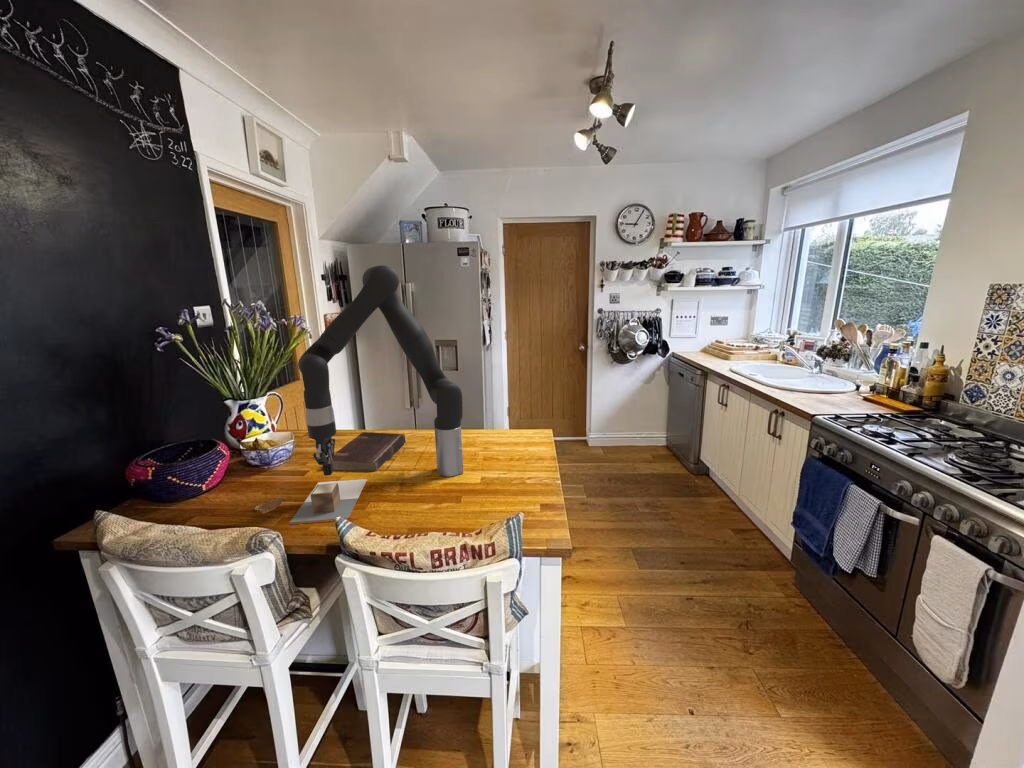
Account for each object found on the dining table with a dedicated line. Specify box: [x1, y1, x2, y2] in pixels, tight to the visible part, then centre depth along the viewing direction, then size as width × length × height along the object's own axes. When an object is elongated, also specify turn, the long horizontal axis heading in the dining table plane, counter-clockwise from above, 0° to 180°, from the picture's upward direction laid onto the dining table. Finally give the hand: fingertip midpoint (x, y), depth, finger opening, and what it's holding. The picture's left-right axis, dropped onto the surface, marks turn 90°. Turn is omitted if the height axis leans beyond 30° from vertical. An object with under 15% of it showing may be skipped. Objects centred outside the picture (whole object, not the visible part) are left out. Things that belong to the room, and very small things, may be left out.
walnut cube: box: [310, 483, 340, 513], centre depth 121 cm, size 6×6×6 cm
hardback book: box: [332, 431, 406, 472], centre depth 160 cm, size 29×19×5 cm, turn 174°
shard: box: [254, 497, 285, 514], centre depth 125 cm, size 11×8×2 cm
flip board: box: [289, 478, 368, 526], centre depth 127 cm, size 16×24×1 cm, turn 7°
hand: (328, 474), depth 124 cm, fingers closed
